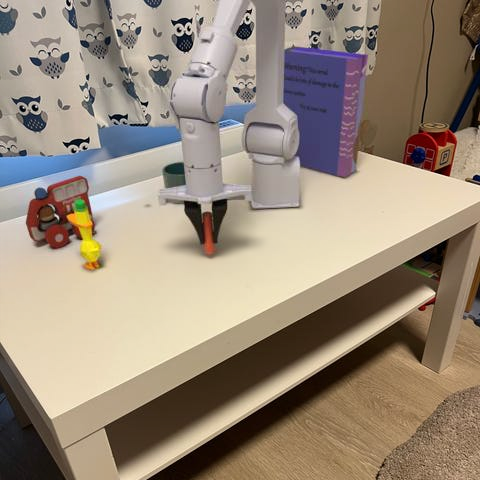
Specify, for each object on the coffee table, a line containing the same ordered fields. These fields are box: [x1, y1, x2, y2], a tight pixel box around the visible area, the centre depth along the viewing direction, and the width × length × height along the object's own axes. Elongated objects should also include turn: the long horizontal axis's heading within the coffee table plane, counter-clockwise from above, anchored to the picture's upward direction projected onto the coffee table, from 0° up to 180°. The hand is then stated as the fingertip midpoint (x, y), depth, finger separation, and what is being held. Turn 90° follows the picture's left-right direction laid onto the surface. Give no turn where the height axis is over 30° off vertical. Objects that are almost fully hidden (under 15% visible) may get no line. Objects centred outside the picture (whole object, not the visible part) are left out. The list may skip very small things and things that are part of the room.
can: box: [162, 161, 186, 205], centre depth 108 cm, size 7×7×6 cm
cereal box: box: [283, 46, 369, 179], centre depth 114 cm, size 17×5×24 cm, turn 49°
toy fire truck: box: [25, 175, 96, 249], centre depth 94 cm, size 7×12×10 cm, turn 130°
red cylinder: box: [202, 211, 216, 255], centre depth 87 cm, size 2×2×7 cm
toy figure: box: [67, 199, 103, 271], centre depth 85 cm, size 7×4×12 cm, turn 49°
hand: (208, 241), depth 88 cm, fingers closed on red cylinder, 1 cm apart
